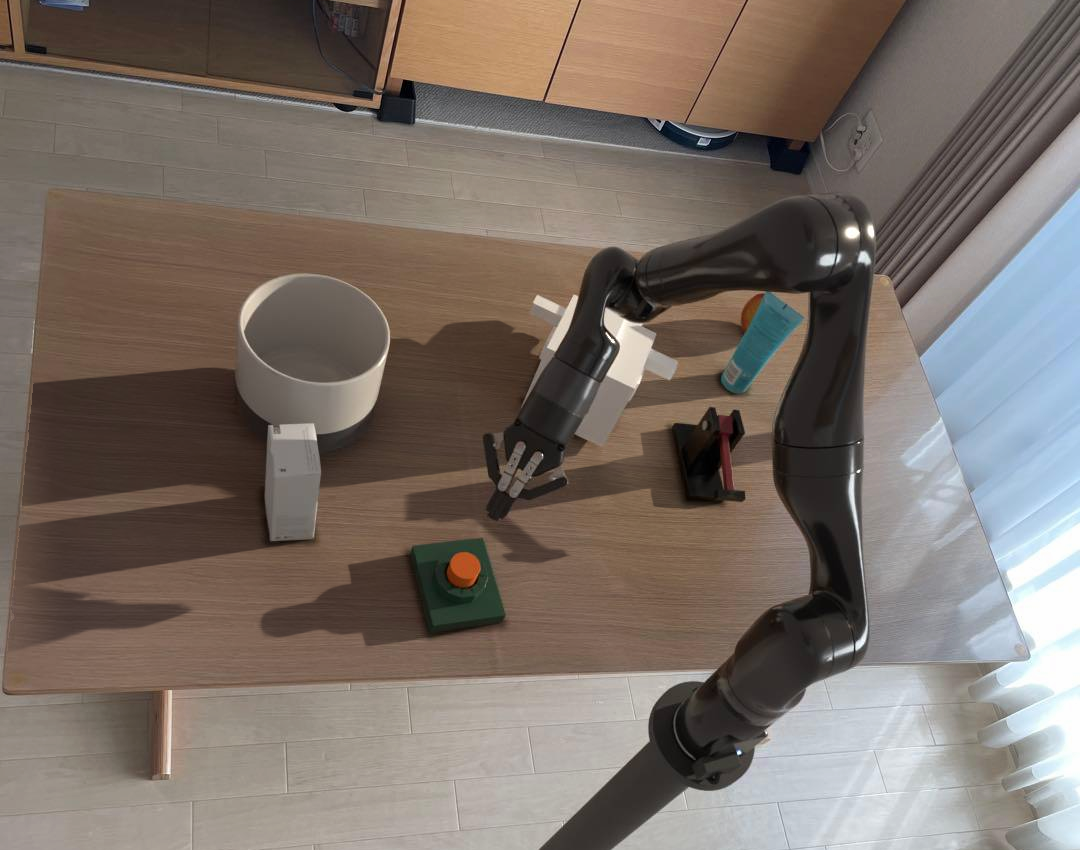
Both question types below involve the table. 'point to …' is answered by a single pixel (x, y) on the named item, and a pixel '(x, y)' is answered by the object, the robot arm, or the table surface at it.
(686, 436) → the black bracket
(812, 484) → the robot arm
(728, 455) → the red and black bar
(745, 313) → the fruit
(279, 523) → the cosmetic box
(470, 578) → the button
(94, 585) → the table surface
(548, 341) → the white voxel figure
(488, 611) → the button box
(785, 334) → the tube
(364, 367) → the planter
